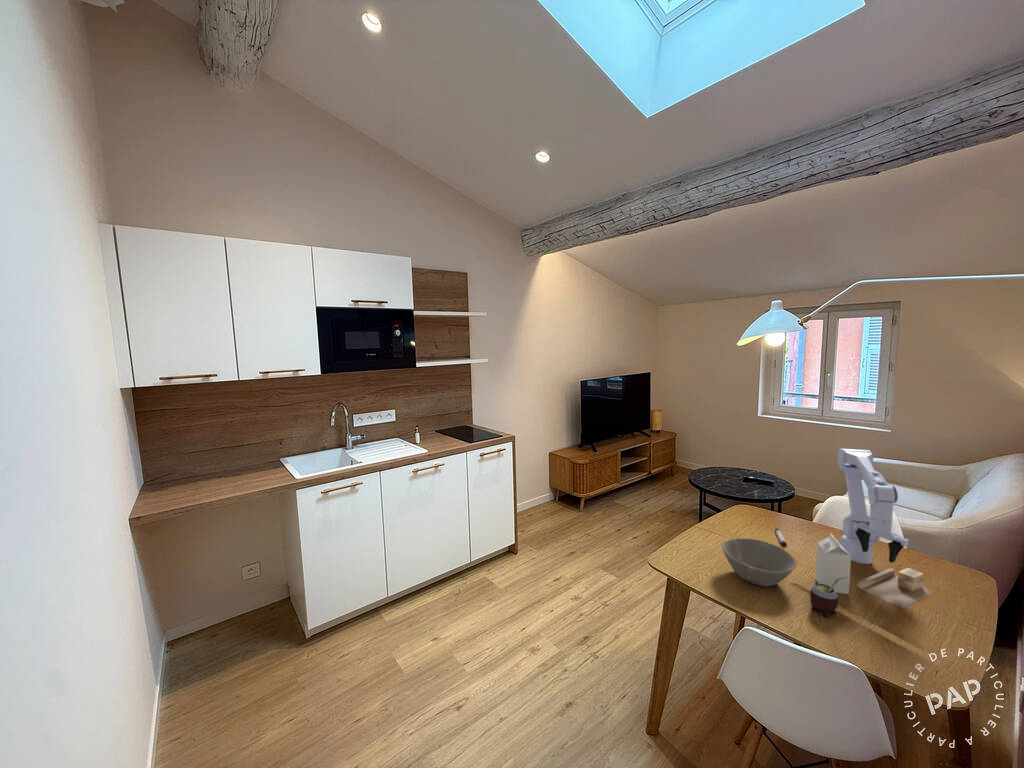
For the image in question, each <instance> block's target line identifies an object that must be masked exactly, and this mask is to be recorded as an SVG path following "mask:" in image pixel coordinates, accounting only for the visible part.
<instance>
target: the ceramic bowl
mask: <svg viewBox="0 0 1024 768" xmlns="http://www.w3.org/2000/svg"><path fill="white" fill-rule="evenodd" d="M721 549H722V551H723V554H724V555H725V557H726V560H727V562H728V563H729V565H730V566H731V567H732V569H733V571H734V572H735V573H736V574H737V576H738V577H739V578H741V579H742V580H744V581H746V582H749V583H750V584H751V583H752V584H754V585H757V586H760V587H765V588H767V587H771V586H775V585H778V584H779V583H780V582H781V581H783V580H784V579H786V578H787V577H788V576H790V574H792V572H793V571H794V570H795V569H796V567H797V560H796V559H795V558H794V556H792V554H790V553H789V552H788V551H787V550H785V549H784V548H782V547H780V546H777V545H775V544H772V543H769V542H767V541H764V540H760V539H759V540H758V539H753V538H742V537H741V538H731V539H729V540H726V541H725V542H723V543H722V545H721Z"/></svg>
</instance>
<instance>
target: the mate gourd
mask: <svg viewBox="0 0 1024 768" xmlns="http://www.w3.org/2000/svg"><path fill="white" fill-rule="evenodd" d="M845 578H847V577H840V578H837V579H835V580H834V583H833V584H832V586H831V587H830V586H828V585H825V584H819V583H816V584H814V585H812V586H811V589H810V592H809V595H810V597H809V598H810V604H811V608H810V609H811V611H813V612H815V611H816V612H820V613H822V615H823V616H824V618H826V619H829V616H828V614H830V615H836V609H837V607H838V604H839V595H838V593H837V592H835V590H834V589H833V587H834V586H835V584H836V583H837V582H838V581H839V580H841V579H845Z"/></svg>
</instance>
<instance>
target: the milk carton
mask: <svg viewBox="0 0 1024 768" xmlns="http://www.w3.org/2000/svg"><path fill="white" fill-rule="evenodd" d="M815 564H816V565H815V566H816V567H815V580H816V582H817V584H825V585H828V586H830V587H831V586H832V584H833V583H834V580H835V579H837V578H840V577H847V578H845V579H841V580H839V581H838V582H837V583H836V584H835V586H834V587H833V589H834V590H835V592H836V593H837V594H845V595H849V594H850V593H849V592H850V579H851V564H852V560H851V555H850V554H849V553H848V552H847V551H846V550H845V549H844V548H843V547H842V546H841V545H840V543H839V541H838V539H836V537H834V535H833V534H832V533H829V536H828V537H826V538H824V539H822V540H820V541H819V542H817V547H816V563H815Z"/></svg>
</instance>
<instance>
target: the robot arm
mask: <svg viewBox="0 0 1024 768" xmlns="http://www.w3.org/2000/svg"><path fill="white" fill-rule="evenodd" d="M837 462H838V463H837V464H838V468H839V471H842V472H843V473H844V477H845V483H846V489H847V495H848V496H847V497H848V500H849V501H848V502H849V510H850V513H849V515H847V516H845V517H843V519H842V522H843V523H842V531H843V535H841V536H840V538H839V541H838V542H839V543H840V545H841V546H842V547H843V548H844V549H845V550H846V551H847V552H848V553H849V554H850V555H851V562H852V561H853V562H855V563H859V564H863V565H864V564H865V565H870V564H872V561H873V549H874V545H876V543H878V542H880V540H881V538H882V539H885V540H889V541H891V542H888V544H887V545H888V550H889V552H888V553H889V556H888V562H889V563H891V564H892V563H895V562H896V559H897V557H898V554H899V553H900V552H901V550H902V549H903V548H904V547H906V546H908V545H909V539H908V538H905V537H904V536H900V535H898V534H896V533H894V532H893V531H892V530H893V529H892V527H893V515H894V514H893V512H894V504H896V503H898V498H899V496H898V490H897V488H896V486H894V485H892V484H889V483H888V482H887V481H886V479H885V478H884V476H883V475H882V474H881V473H880V472H879V471H877V470H875V468H874V466H873V462H874V454H873V453H872V451H871V450H869V449H855V448H854V449H853V448H842V447H840V448H839V449H838V451H837ZM863 483H864V484H865V486H866V487H867V495H868V504H869V505H870V506H869V507H870V508H869V515H868V512H867V506H866V504H867V503H866V499H865V494H864V493H865V492H864V487H863Z"/></svg>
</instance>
